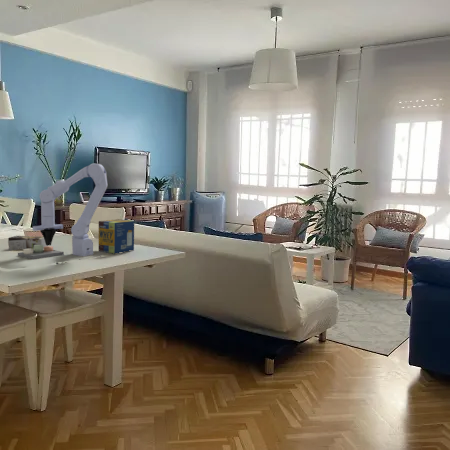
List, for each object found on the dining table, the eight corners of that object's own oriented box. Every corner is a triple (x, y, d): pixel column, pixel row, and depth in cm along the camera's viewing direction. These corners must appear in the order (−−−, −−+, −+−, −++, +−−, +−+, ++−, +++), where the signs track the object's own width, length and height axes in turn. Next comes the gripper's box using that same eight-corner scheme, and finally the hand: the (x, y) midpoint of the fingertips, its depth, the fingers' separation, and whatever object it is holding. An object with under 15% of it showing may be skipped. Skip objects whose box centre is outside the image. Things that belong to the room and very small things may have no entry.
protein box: (98, 252, 224) (97, 221, 223) (118, 248, 238) (119, 218, 236) (114, 254, 219) (114, 222, 218) (134, 250, 233) (134, 220, 231)
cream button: (35, 255, 203) (34, 249, 203) (26, 257, 200) (26, 250, 199) (30, 254, 205) (29, 248, 205) (21, 255, 202) (21, 249, 202)
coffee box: (41, 238, 220) (7, 237, 220) (41, 251, 221) (8, 250, 221) (48, 236, 229) (16, 235, 229) (48, 248, 230) (16, 247, 230)
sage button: (45, 251, 207) (45, 245, 207) (37, 253, 204) (36, 246, 203) (40, 250, 209) (39, 244, 209) (32, 251, 206) (31, 245, 206)
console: (63, 257, 208) (63, 251, 208) (33, 261, 196) (33, 255, 196) (48, 253, 215) (48, 248, 215) (18, 257, 203) (17, 252, 203)
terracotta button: (54, 253, 211) (54, 246, 211) (47, 254, 208) (47, 247, 208) (49, 252, 213) (49, 246, 213) (42, 253, 210) (41, 246, 210)
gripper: (56, 214, 217) (57, 242, 218) (28, 216, 205) (29, 245, 207) (65, 215, 213) (66, 244, 214) (37, 217, 201) (37, 247, 203)
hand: (48, 245), depth 210 cm, fingers closed
